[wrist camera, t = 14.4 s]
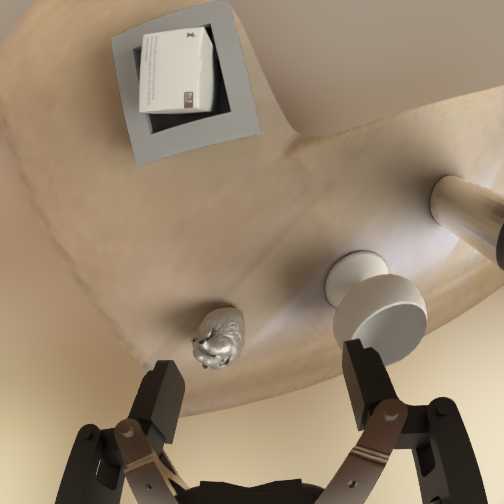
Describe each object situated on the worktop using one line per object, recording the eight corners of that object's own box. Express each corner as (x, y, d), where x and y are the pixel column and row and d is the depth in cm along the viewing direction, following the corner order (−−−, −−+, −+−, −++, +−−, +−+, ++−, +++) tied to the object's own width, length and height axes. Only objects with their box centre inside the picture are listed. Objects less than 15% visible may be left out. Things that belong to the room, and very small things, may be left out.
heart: (229, 351, 52) (232, 394, 40) (187, 328, 49) (180, 370, 38) (260, 314, 50) (271, 353, 39) (216, 288, 48) (215, 324, 36)
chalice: (396, 299, 47) (431, 352, 33) (328, 324, 49) (347, 385, 36) (388, 233, 42) (435, 278, 28) (310, 261, 44) (332, 319, 30)
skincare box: (179, 62, 30) (139, 30, 17) (223, 60, 30) (204, 21, 17) (177, 118, 34) (133, 113, 20) (220, 117, 34) (199, 108, 20)
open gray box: (234, 27, 29) (228, -2, 20) (259, 133, 36) (261, 134, 27) (141, 54, 30) (110, 38, 21) (164, 157, 37) (137, 166, 28)
